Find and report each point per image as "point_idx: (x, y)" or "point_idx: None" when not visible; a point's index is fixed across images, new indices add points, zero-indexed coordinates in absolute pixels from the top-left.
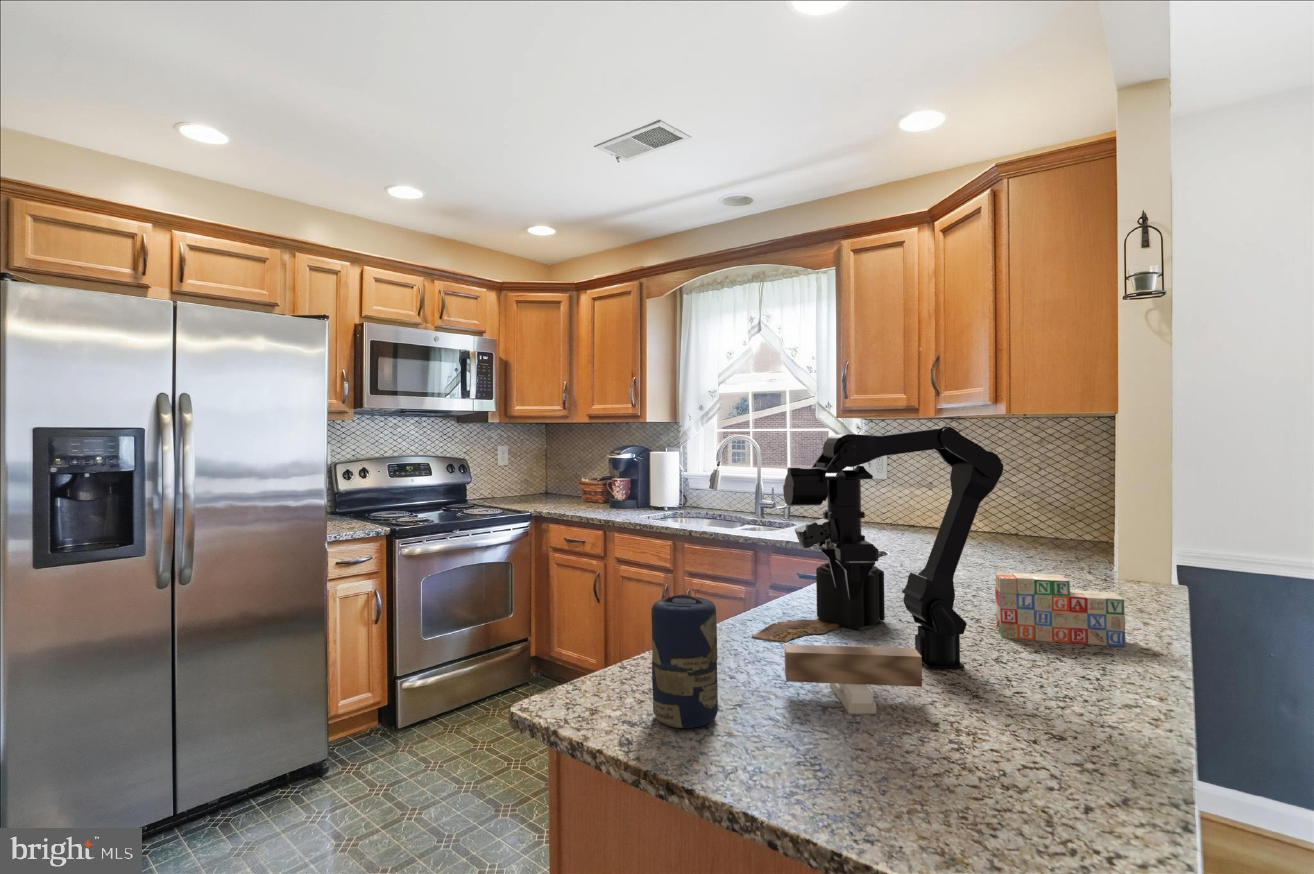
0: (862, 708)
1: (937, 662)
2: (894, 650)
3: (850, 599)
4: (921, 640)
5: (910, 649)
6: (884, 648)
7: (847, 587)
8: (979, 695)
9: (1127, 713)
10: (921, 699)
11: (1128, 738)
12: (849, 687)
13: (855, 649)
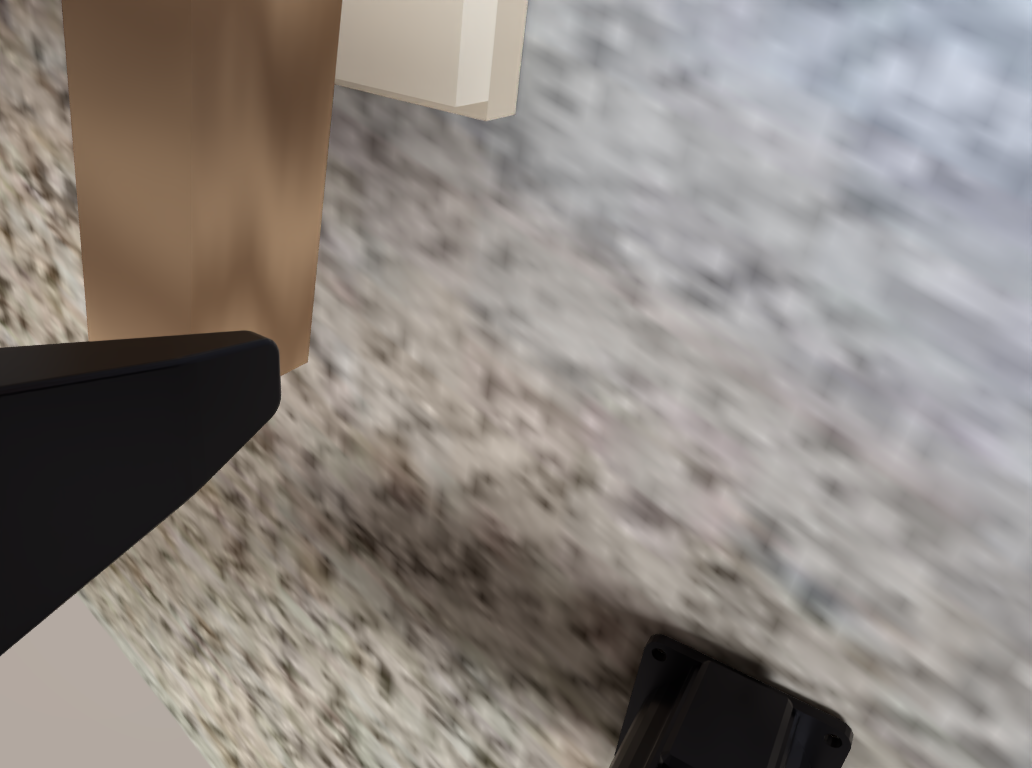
0: None
1: (652, 697)
2: (149, 290)
3: (247, 335)
4: (663, 750)
5: None
6: (172, 255)
7: (92, 358)
8: (370, 556)
9: (260, 751)
10: (344, 333)
11: (149, 617)
12: None
13: (139, 45)
